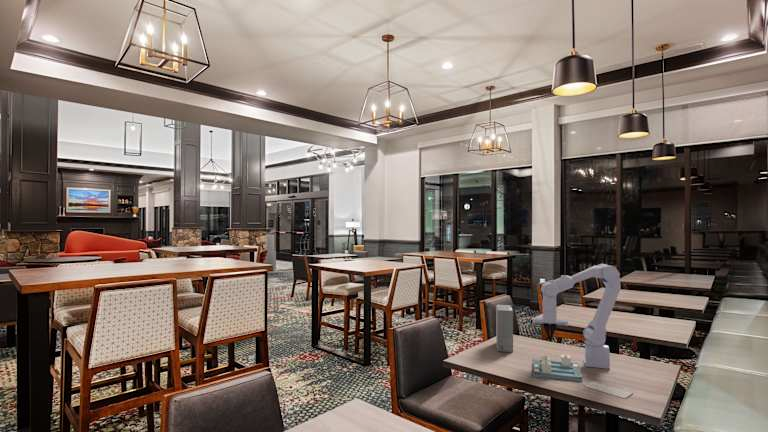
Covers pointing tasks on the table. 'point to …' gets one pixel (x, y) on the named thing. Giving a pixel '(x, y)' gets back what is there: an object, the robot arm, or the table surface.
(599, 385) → the smartphone
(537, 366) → the switch board
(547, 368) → the tab
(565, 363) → the tab
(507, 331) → the hard drive box
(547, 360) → the tab
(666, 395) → the table surface
